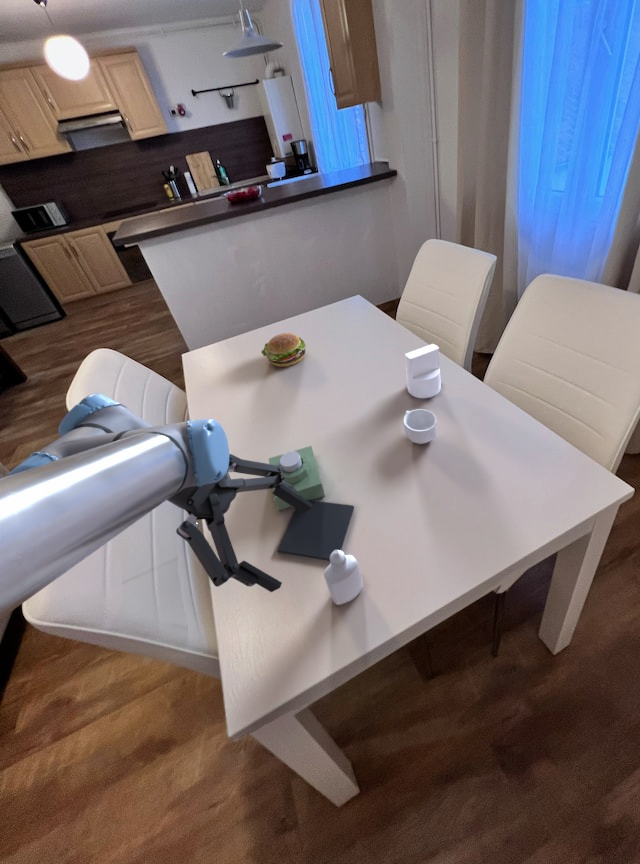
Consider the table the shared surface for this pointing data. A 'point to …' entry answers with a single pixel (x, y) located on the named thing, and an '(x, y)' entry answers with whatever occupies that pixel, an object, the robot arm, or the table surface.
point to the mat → (317, 530)
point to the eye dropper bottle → (343, 577)
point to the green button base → (301, 477)
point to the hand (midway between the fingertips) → (294, 545)
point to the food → (284, 349)
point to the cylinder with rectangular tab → (423, 371)
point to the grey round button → (291, 462)
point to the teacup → (420, 425)
